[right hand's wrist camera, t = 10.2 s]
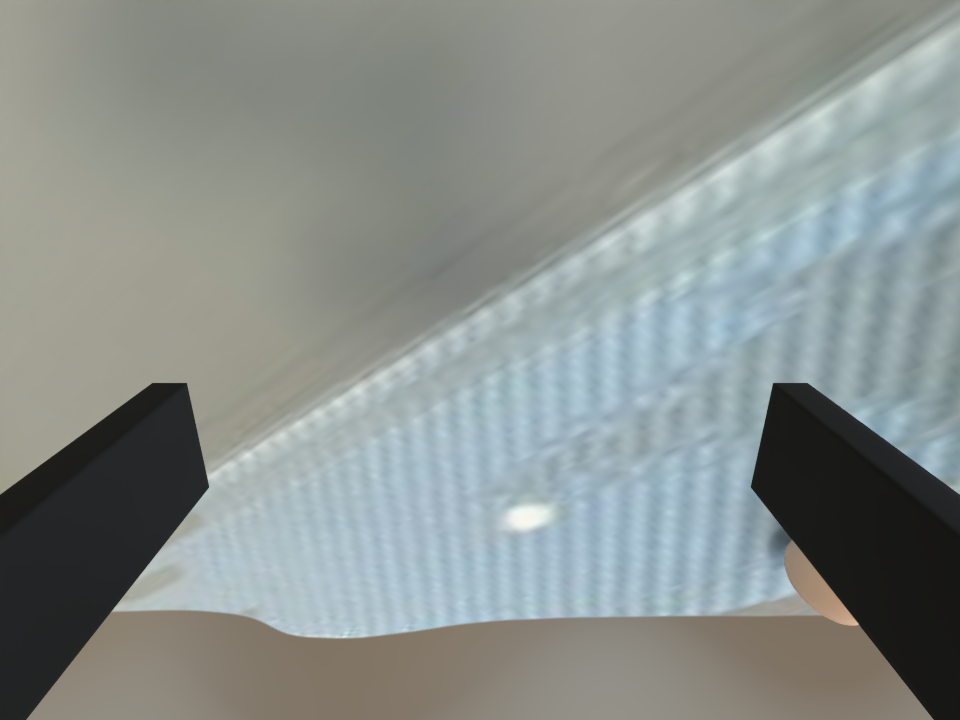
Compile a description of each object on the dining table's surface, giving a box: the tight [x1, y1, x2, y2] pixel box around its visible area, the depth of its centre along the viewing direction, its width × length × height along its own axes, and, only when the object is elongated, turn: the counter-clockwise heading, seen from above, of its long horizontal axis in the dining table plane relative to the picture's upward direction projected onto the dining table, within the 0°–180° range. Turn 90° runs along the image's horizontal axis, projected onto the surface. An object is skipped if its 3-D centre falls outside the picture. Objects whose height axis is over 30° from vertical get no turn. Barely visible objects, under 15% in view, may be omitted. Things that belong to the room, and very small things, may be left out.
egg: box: [784, 540, 859, 626], centre depth 43 cm, size 5×5×8 cm
